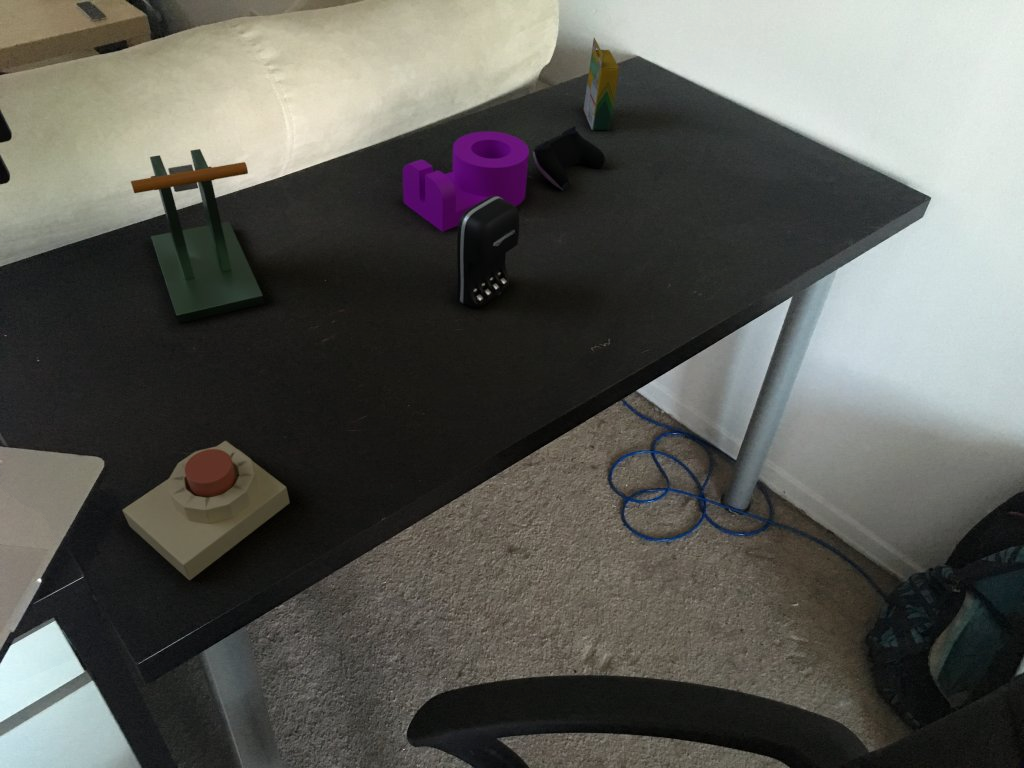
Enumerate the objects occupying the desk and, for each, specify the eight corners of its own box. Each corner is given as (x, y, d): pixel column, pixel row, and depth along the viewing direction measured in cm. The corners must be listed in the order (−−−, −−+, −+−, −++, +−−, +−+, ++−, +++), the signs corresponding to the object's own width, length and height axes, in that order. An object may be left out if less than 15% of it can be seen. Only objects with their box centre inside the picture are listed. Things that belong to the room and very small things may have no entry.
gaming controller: (589, 174, 116) (566, 131, 115) (610, 161, 113) (586, 117, 112) (546, 200, 110) (520, 155, 109) (567, 188, 106) (540, 141, 105)
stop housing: (189, 581, 61) (177, 551, 58) (129, 526, 64) (115, 495, 62) (290, 503, 67) (283, 472, 64) (230, 456, 70) (221, 425, 68)
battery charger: (480, 316, 87) (484, 227, 79) (454, 302, 89) (455, 213, 81) (519, 288, 91) (526, 201, 83) (493, 275, 93) (498, 188, 85)
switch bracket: (264, 304, 86) (242, 192, 77) (178, 324, 83) (145, 209, 73) (230, 229, 96) (207, 122, 87) (153, 244, 93) (120, 135, 83)
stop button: (208, 504, 62) (203, 490, 61) (180, 481, 64) (175, 467, 62) (245, 477, 64) (241, 464, 63) (217, 456, 66) (213, 442, 64)
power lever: (250, 180, 73) (243, 154, 73) (136, 201, 70) (128, 173, 69) (233, 181, 85) (227, 158, 84) (135, 198, 81) (127, 175, 80)
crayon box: (610, 131, 122) (622, 55, 114) (591, 131, 122) (602, 55, 114) (601, 110, 127) (611, 36, 119) (583, 110, 127) (592, 36, 119)
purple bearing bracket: (493, 166, 112) (495, 125, 107) (540, 196, 106) (544, 153, 102) (400, 200, 104) (398, 156, 99) (446, 234, 98) (446, 189, 94)
